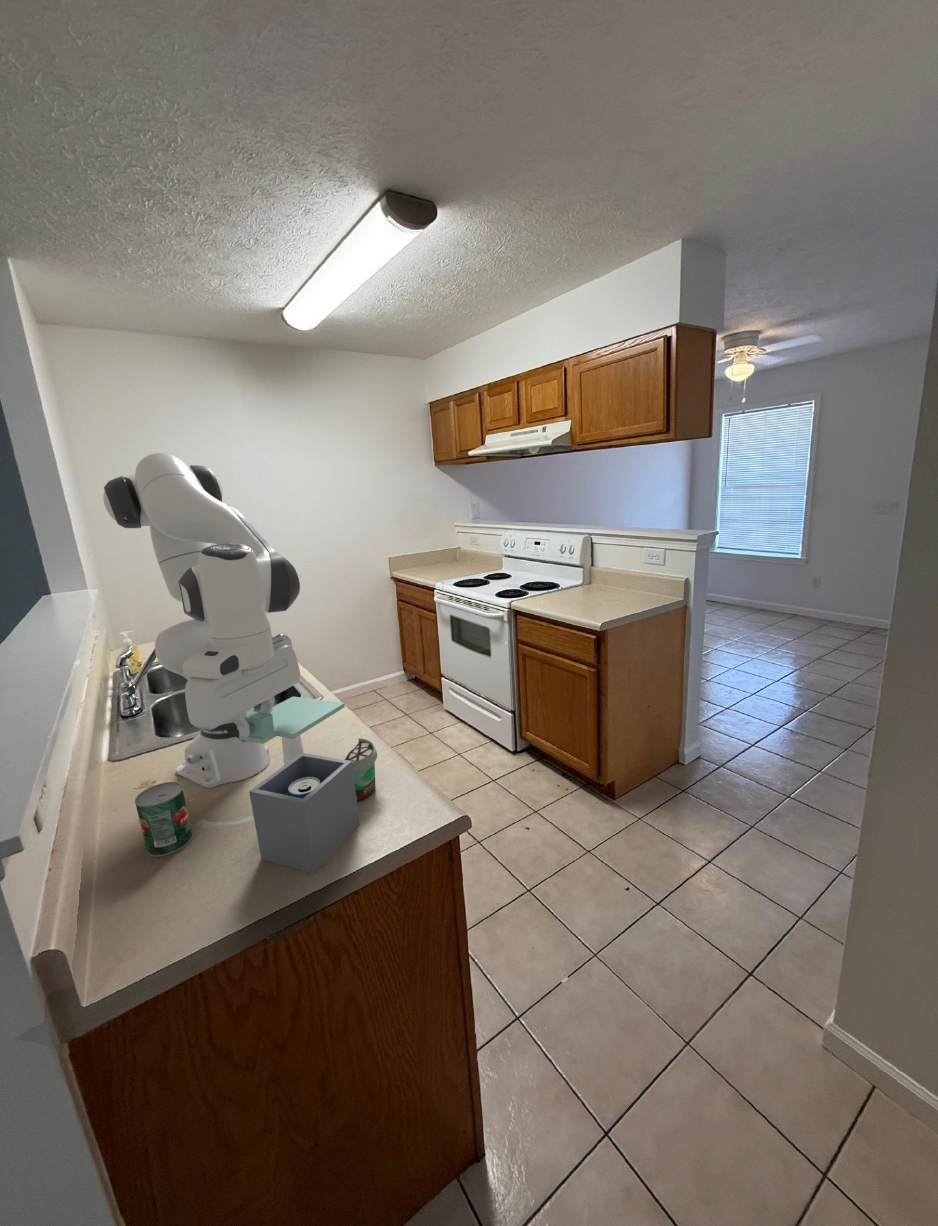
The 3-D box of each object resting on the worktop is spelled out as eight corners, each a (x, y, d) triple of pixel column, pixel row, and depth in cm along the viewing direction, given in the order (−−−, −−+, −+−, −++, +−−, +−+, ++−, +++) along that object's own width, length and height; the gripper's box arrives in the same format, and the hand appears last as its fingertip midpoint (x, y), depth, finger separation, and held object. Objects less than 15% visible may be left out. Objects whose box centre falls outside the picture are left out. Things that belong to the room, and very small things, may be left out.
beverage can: (296, 857, 92) (287, 799, 90) (293, 836, 98) (284, 781, 95) (332, 845, 95) (324, 789, 92) (327, 826, 101) (319, 772, 98)
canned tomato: (140, 846, 98) (128, 795, 95) (183, 824, 104) (173, 777, 101) (155, 863, 93) (143, 810, 90) (199, 839, 99) (189, 790, 96)
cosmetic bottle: (304, 803, 109) (290, 709, 103) (280, 801, 110) (264, 707, 105) (319, 787, 114) (306, 697, 109) (295, 785, 116) (281, 696, 111)
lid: (223, 736, 84) (220, 714, 83) (293, 700, 99) (291, 680, 98) (280, 746, 79) (277, 723, 78) (344, 707, 95) (342, 686, 94)
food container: (368, 810, 105) (363, 767, 103) (340, 808, 106) (335, 765, 104) (388, 777, 117) (384, 738, 114) (364, 776, 118) (359, 737, 116)
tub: (261, 858, 92) (249, 791, 89) (310, 813, 105) (301, 752, 102) (314, 873, 88) (303, 802, 85) (359, 824, 101) (351, 761, 97)
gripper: (274, 629, 90) (285, 701, 93) (171, 668, 71) (189, 757, 74) (303, 631, 87) (313, 705, 91) (204, 672, 69) (221, 763, 72)
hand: (256, 729), depth 82 cm, fingers closed on lid, 2 cm apart
